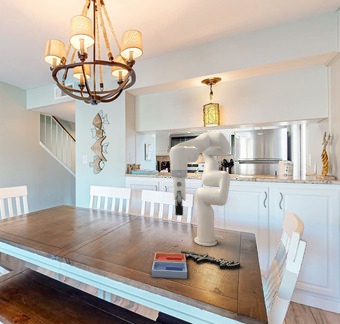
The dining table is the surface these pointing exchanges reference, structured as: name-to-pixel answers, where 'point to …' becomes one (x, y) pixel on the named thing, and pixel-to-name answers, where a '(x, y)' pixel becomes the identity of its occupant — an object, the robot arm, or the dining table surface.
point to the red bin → (169, 255)
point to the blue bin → (169, 272)
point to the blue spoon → (170, 268)
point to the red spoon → (170, 258)
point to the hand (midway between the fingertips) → (178, 212)
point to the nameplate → (210, 260)
